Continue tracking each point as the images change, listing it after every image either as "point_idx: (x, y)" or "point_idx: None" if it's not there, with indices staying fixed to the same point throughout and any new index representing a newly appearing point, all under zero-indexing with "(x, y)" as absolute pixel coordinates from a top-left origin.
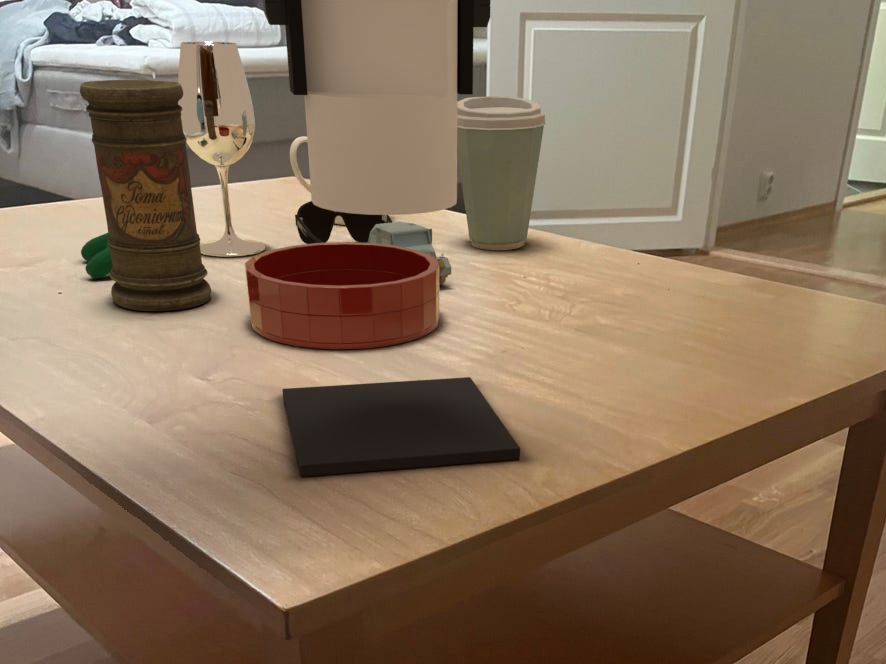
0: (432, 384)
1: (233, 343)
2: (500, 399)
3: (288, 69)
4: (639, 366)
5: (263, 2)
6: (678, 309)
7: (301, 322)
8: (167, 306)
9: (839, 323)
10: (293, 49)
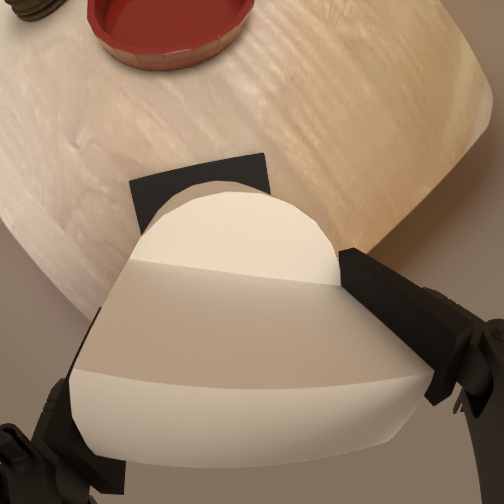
0: (235, 169)
1: (86, 66)
2: (280, 177)
3: (92, 321)
4: (373, 122)
5: (47, 400)
6: (405, 27)
7: (133, 62)
8: (45, 14)
9: (465, 81)
10: None
